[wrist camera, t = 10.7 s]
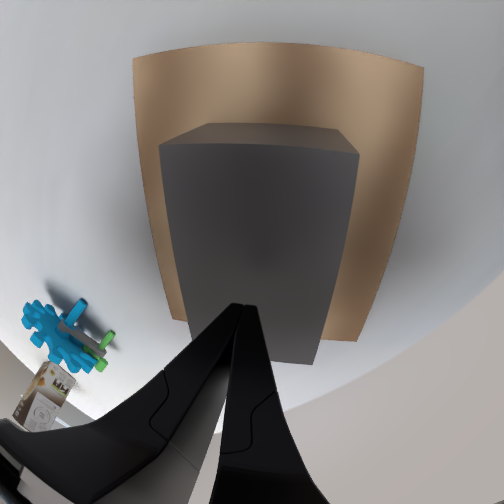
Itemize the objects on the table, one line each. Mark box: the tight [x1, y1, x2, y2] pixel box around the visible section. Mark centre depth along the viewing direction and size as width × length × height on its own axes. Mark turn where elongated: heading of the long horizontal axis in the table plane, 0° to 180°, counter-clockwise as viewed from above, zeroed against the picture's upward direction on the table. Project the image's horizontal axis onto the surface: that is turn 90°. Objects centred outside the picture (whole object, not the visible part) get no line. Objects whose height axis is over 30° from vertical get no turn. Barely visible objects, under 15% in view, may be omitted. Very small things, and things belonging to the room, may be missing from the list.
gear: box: [21, 299, 115, 374], centre depth 23 cm, size 11×6×10 cm
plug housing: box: [158, 123, 360, 365], centre depth 12 cm, size 6×10×5 cm, turn 179°
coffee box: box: [12, 361, 76, 432], centre depth 35 cm, size 9×6×16 cm
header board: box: [133, 42, 424, 342], centre depth 14 cm, size 14×18×4 cm
